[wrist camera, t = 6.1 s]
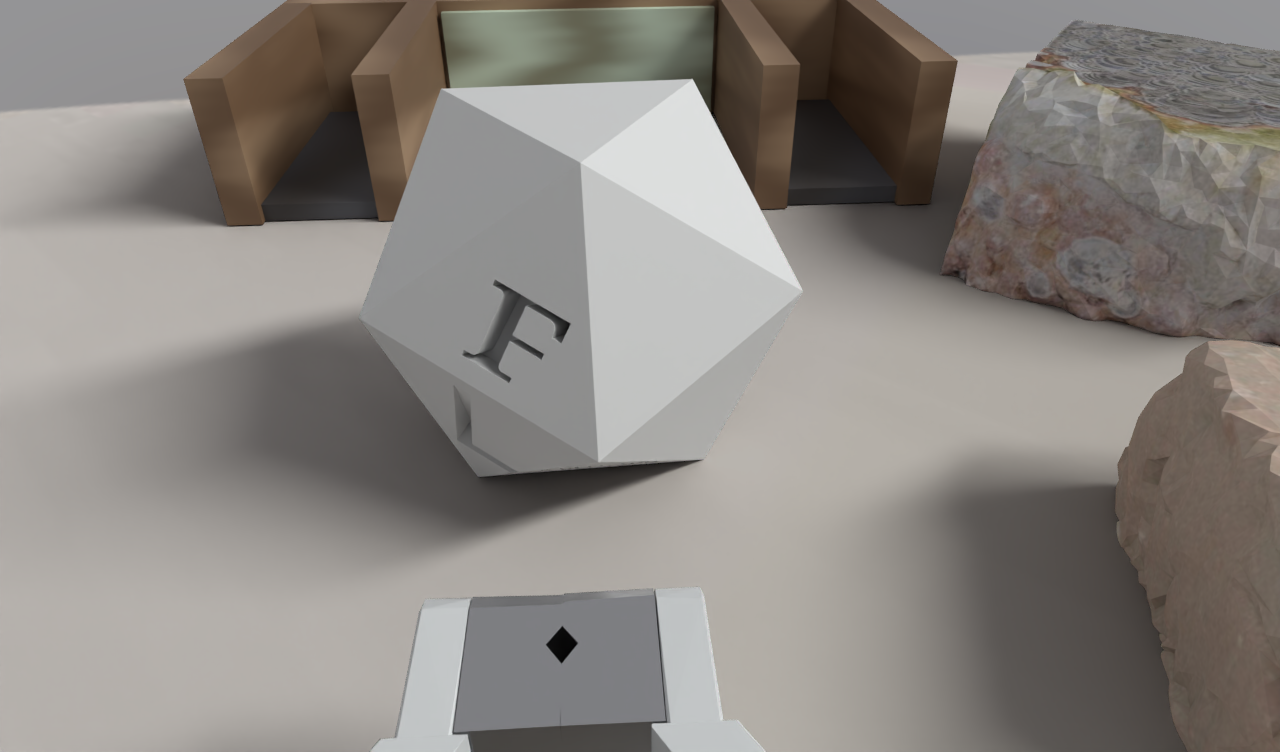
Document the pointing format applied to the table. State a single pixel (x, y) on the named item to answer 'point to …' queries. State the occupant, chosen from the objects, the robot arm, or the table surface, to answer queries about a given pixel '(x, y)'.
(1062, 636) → the table surface
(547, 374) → the die
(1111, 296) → the geological specimen
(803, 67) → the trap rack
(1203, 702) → the brick
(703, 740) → the robot arm
